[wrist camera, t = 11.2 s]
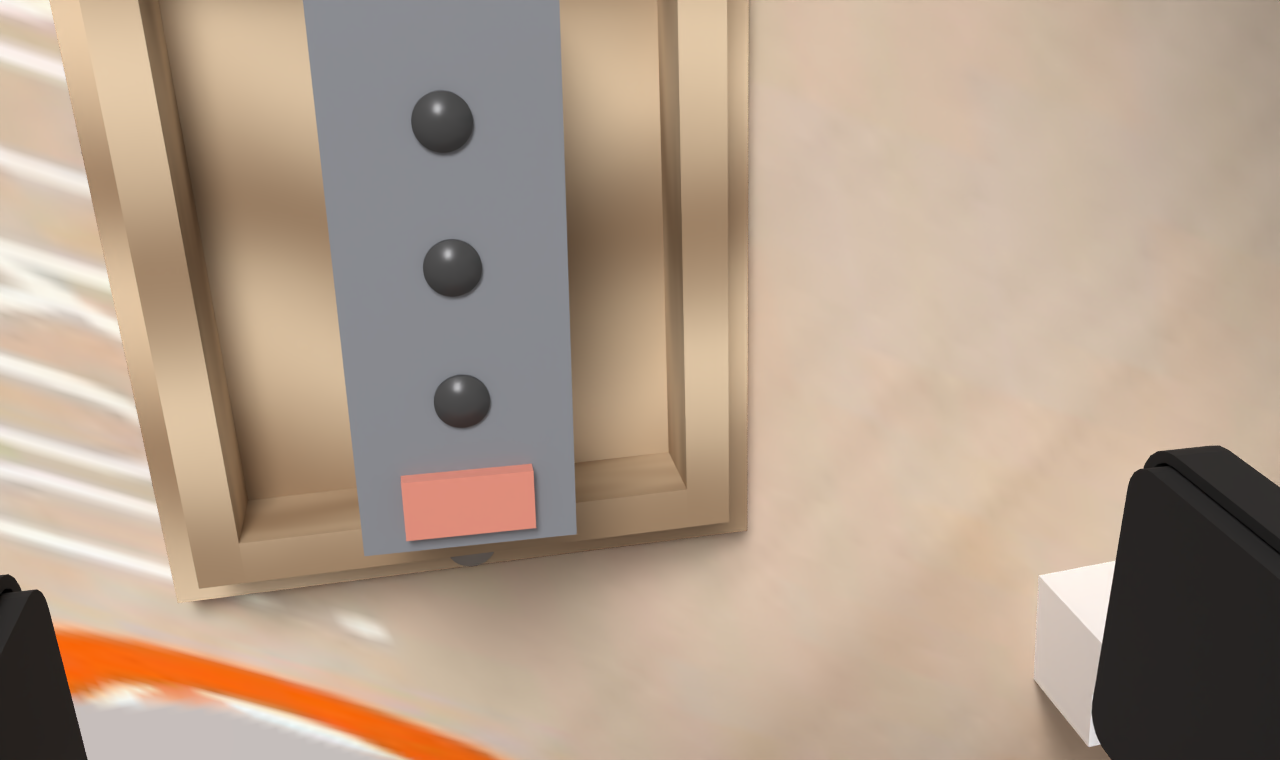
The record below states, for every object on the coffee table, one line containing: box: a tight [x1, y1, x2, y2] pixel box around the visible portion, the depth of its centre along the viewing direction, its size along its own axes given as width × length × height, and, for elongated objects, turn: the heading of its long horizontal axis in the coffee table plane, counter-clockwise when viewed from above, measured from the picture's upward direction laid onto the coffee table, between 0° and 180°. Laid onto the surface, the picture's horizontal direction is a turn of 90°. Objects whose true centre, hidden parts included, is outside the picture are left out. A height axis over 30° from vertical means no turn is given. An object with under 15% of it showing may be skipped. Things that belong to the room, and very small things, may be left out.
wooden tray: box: [49, 0, 749, 603], centre depth 26 cm, size 18×14×3 cm
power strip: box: [303, 0, 577, 556], centre depth 24 cm, size 10×4×6 cm, turn 0°
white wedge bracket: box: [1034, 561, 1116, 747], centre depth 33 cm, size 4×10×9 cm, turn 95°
